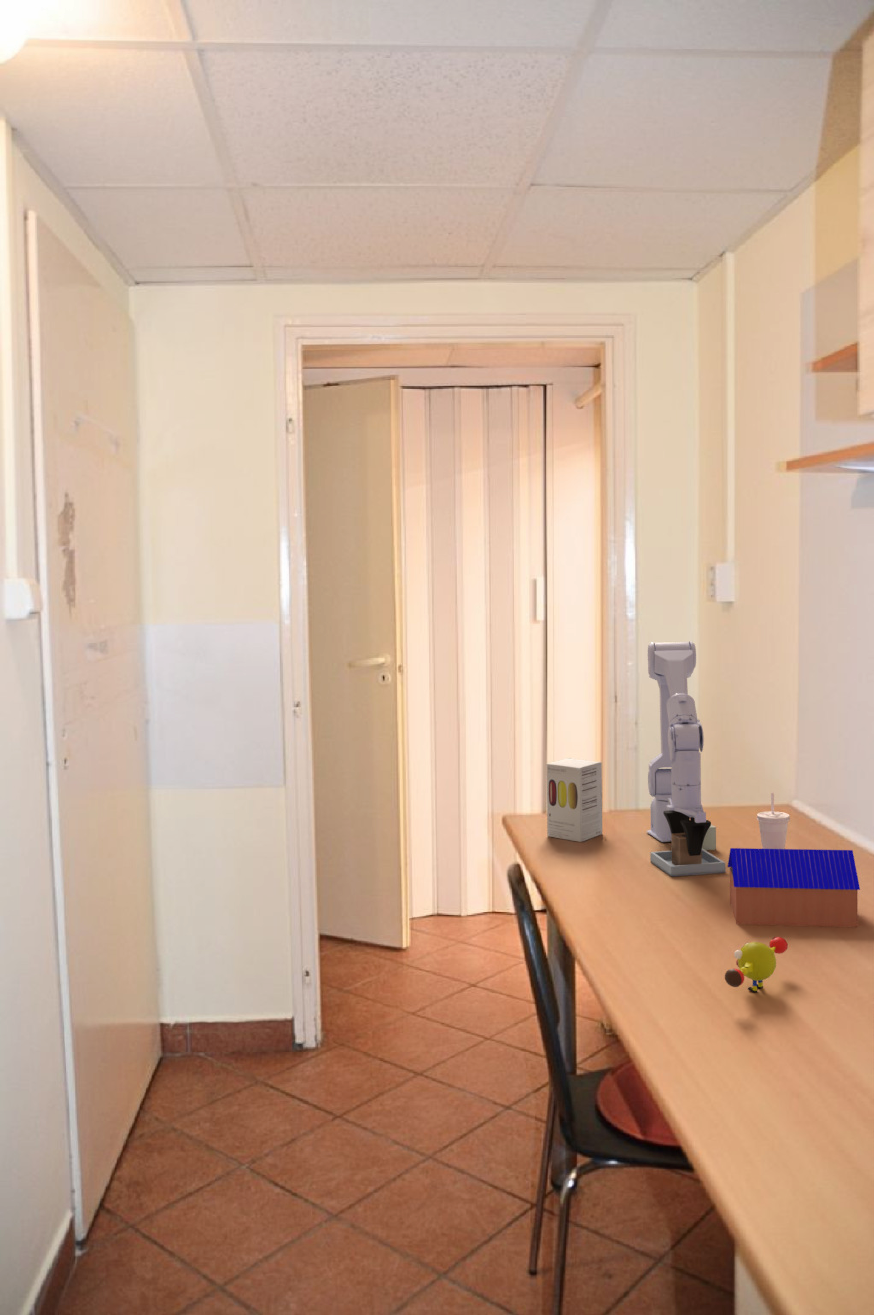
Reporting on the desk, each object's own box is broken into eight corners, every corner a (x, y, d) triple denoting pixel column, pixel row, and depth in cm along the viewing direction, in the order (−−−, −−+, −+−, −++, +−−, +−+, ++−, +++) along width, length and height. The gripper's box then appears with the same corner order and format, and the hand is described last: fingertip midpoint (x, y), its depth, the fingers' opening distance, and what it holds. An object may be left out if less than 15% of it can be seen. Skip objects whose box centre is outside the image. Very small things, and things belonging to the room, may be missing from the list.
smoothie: (786, 857, 218) (785, 790, 217) (793, 866, 212) (793, 796, 211) (754, 857, 219) (753, 790, 218) (760, 866, 212) (760, 797, 211)
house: (727, 903, 190) (727, 839, 190) (845, 906, 187) (845, 841, 186) (734, 925, 179) (733, 857, 178) (860, 929, 175) (860, 859, 174)
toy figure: (762, 966, 160) (762, 922, 159) (798, 974, 156) (798, 929, 156) (709, 1005, 146) (709, 957, 145) (748, 1015, 142) (748, 966, 142)
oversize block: (678, 845, 231) (677, 822, 231) (704, 843, 232) (703, 820, 232) (689, 852, 225) (689, 828, 225) (716, 850, 226) (715, 826, 226)
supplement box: (546, 836, 241) (544, 763, 240) (568, 828, 248) (567, 757, 247) (581, 842, 235) (580, 767, 234) (604, 834, 242) (602, 761, 241)
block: (671, 863, 215) (671, 833, 215) (692, 861, 216) (692, 832, 215) (680, 869, 211) (679, 838, 210) (701, 867, 212) (701, 837, 211)
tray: (650, 861, 218) (650, 852, 218) (702, 857, 220) (702, 848, 220) (671, 876, 207) (671, 866, 207) (725, 872, 209) (725, 862, 209)
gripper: (653, 777, 219) (654, 842, 220) (681, 791, 204) (682, 861, 205) (686, 775, 220) (687, 840, 221) (715, 789, 205) (716, 858, 207)
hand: (686, 850), depth 213 cm, fingers open, 7 cm apart
